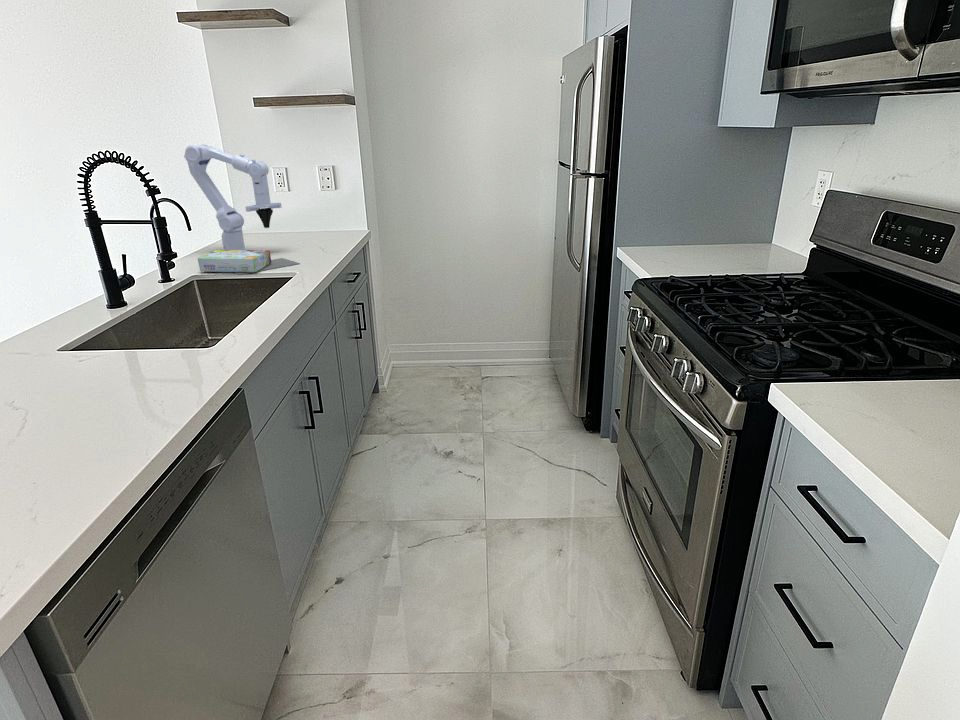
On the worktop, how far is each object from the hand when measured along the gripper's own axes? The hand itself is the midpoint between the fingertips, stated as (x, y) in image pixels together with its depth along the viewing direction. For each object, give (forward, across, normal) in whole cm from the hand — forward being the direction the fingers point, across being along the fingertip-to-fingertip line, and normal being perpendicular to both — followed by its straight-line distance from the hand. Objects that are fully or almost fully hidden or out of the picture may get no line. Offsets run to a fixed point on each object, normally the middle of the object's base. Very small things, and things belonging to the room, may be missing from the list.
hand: (266, 227), depth 255 cm
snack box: (+7, -17, -13) cm, 22 cm away
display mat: (+10, -14, -21) cm, 28 cm away
